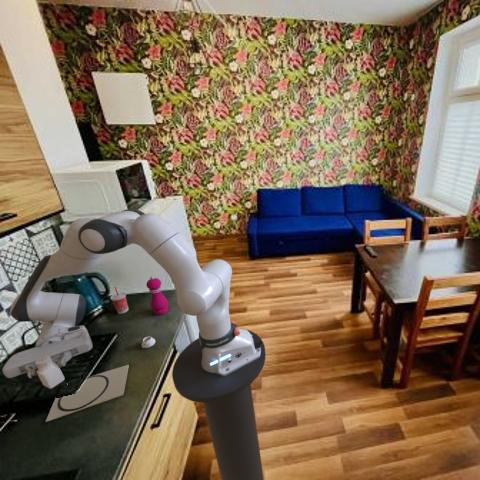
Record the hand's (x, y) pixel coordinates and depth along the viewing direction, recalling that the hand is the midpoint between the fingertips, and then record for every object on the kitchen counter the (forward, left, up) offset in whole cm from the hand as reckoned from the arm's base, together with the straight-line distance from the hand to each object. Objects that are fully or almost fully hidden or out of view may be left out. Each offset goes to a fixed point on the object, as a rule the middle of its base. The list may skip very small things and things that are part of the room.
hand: (46, 370), depth 80 cm
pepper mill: (-25, -43, -17) cm, 53 cm away
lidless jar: (-21, -20, -17) cm, 34 cm away
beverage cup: (-8, -52, -17) cm, 56 cm away
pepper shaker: (0, -1, -6) cm, 6 cm away
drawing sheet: (-5, -4, -17) cm, 18 cm away
